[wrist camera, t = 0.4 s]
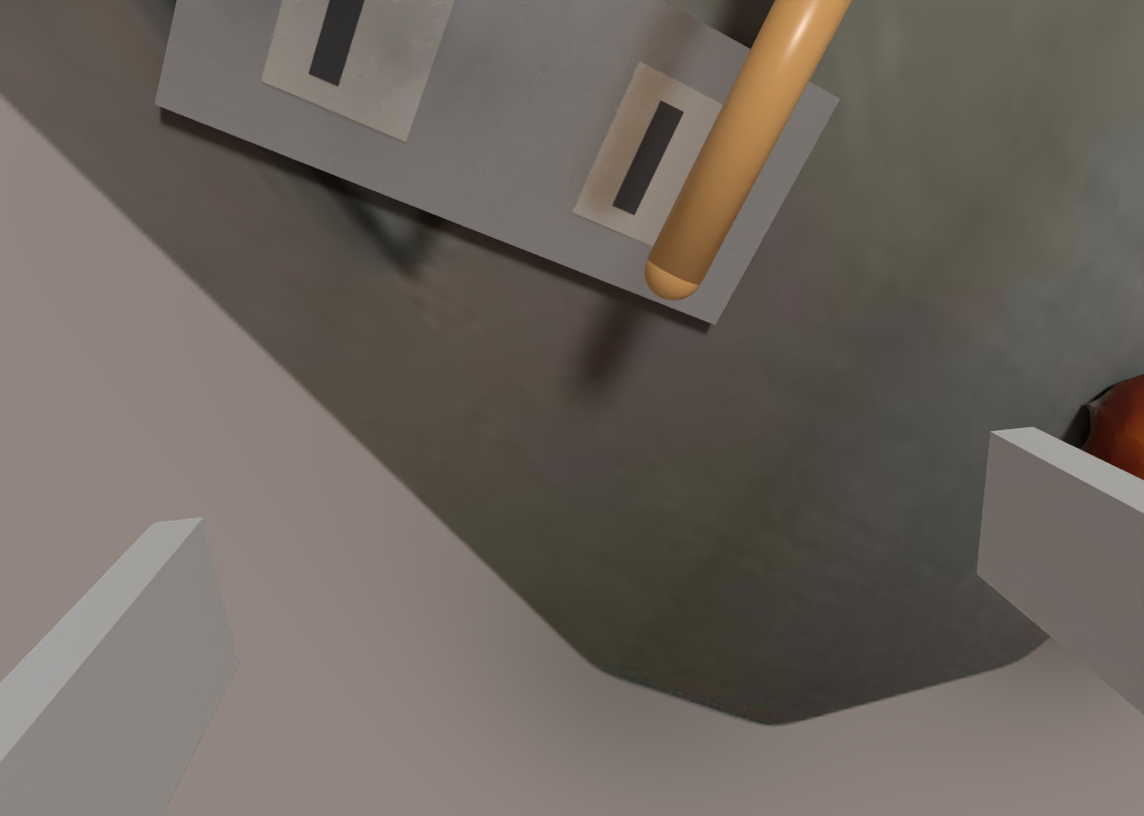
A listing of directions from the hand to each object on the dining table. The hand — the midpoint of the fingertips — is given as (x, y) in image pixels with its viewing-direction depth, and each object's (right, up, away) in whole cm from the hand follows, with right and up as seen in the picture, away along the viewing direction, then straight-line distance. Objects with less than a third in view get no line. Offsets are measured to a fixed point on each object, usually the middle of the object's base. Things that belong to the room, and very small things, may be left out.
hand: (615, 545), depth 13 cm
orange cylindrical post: (+6, +15, +17) cm, 23 cm away
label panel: (-3, +16, +21) cm, 26 cm away
